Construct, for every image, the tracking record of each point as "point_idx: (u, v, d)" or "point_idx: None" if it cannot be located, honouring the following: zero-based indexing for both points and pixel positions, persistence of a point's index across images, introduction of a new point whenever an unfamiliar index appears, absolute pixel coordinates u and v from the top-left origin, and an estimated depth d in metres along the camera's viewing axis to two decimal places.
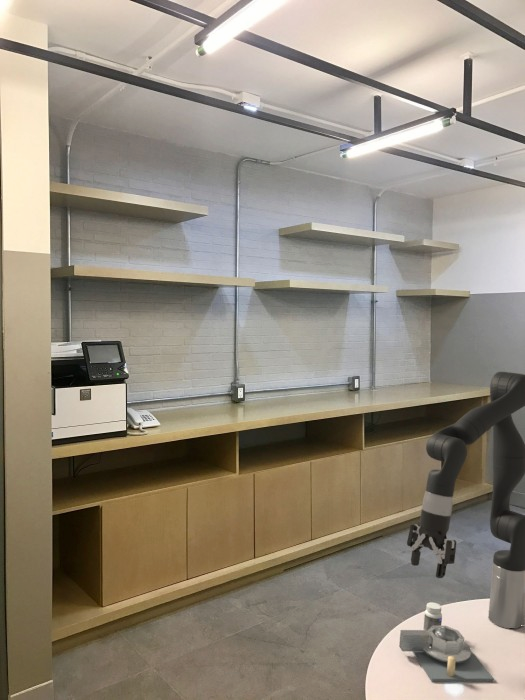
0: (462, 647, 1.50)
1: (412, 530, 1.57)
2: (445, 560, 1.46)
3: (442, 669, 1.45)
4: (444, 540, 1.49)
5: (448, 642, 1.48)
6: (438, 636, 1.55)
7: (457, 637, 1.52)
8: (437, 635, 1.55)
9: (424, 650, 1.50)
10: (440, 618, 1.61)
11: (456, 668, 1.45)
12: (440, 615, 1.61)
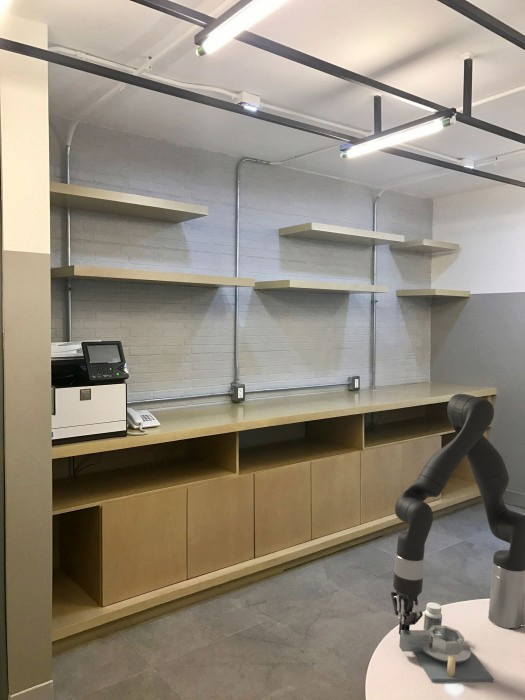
0: (462, 647, 1.50)
1: (393, 597, 1.58)
2: (405, 621, 1.52)
3: (442, 669, 1.45)
4: (413, 607, 1.50)
5: (448, 642, 1.48)
6: (438, 636, 1.55)
7: (457, 637, 1.52)
8: (437, 635, 1.55)
9: (424, 650, 1.50)
10: (440, 618, 1.61)
11: (456, 668, 1.45)
12: (440, 615, 1.61)
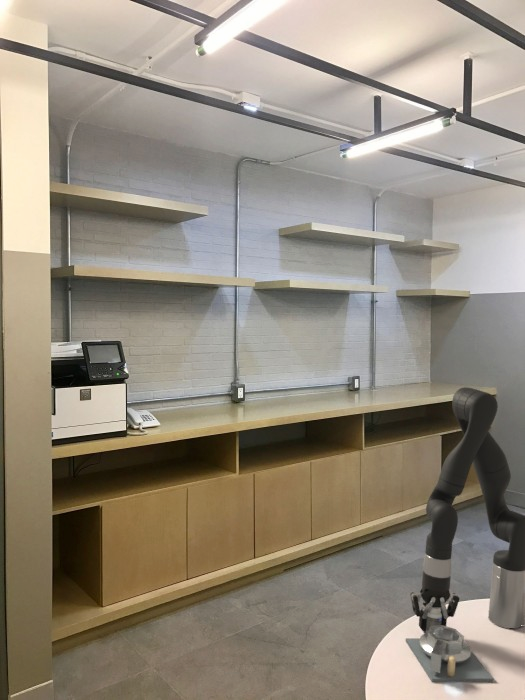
0: None
1: None
2: None
3: (442, 669, 1.45)
4: None
5: (460, 640, 1.49)
6: None
7: (448, 631, 1.55)
8: None
9: (446, 660, 1.46)
10: (440, 618, 1.61)
11: (456, 668, 1.45)
12: (440, 615, 1.61)
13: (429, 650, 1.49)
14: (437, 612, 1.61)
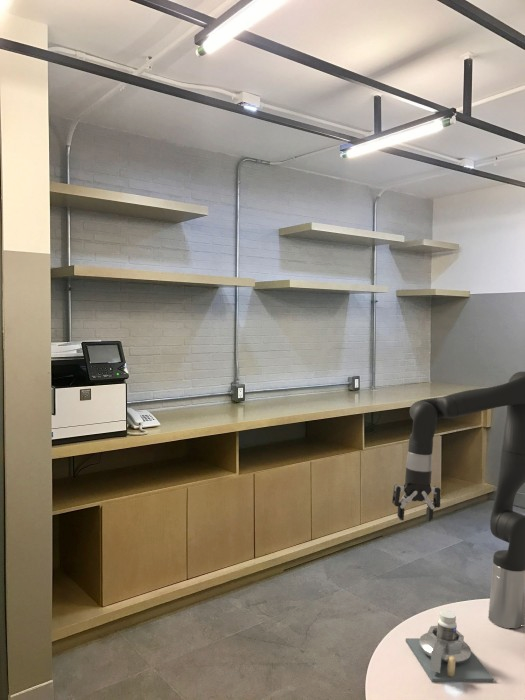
0: None
1: None
2: None
3: (442, 669, 1.45)
4: None
5: (460, 640, 1.49)
6: None
7: None
8: None
9: (446, 660, 1.46)
10: (455, 628, 1.50)
11: (456, 668, 1.45)
12: (455, 624, 1.51)
13: (429, 650, 1.49)
14: (451, 621, 1.50)
